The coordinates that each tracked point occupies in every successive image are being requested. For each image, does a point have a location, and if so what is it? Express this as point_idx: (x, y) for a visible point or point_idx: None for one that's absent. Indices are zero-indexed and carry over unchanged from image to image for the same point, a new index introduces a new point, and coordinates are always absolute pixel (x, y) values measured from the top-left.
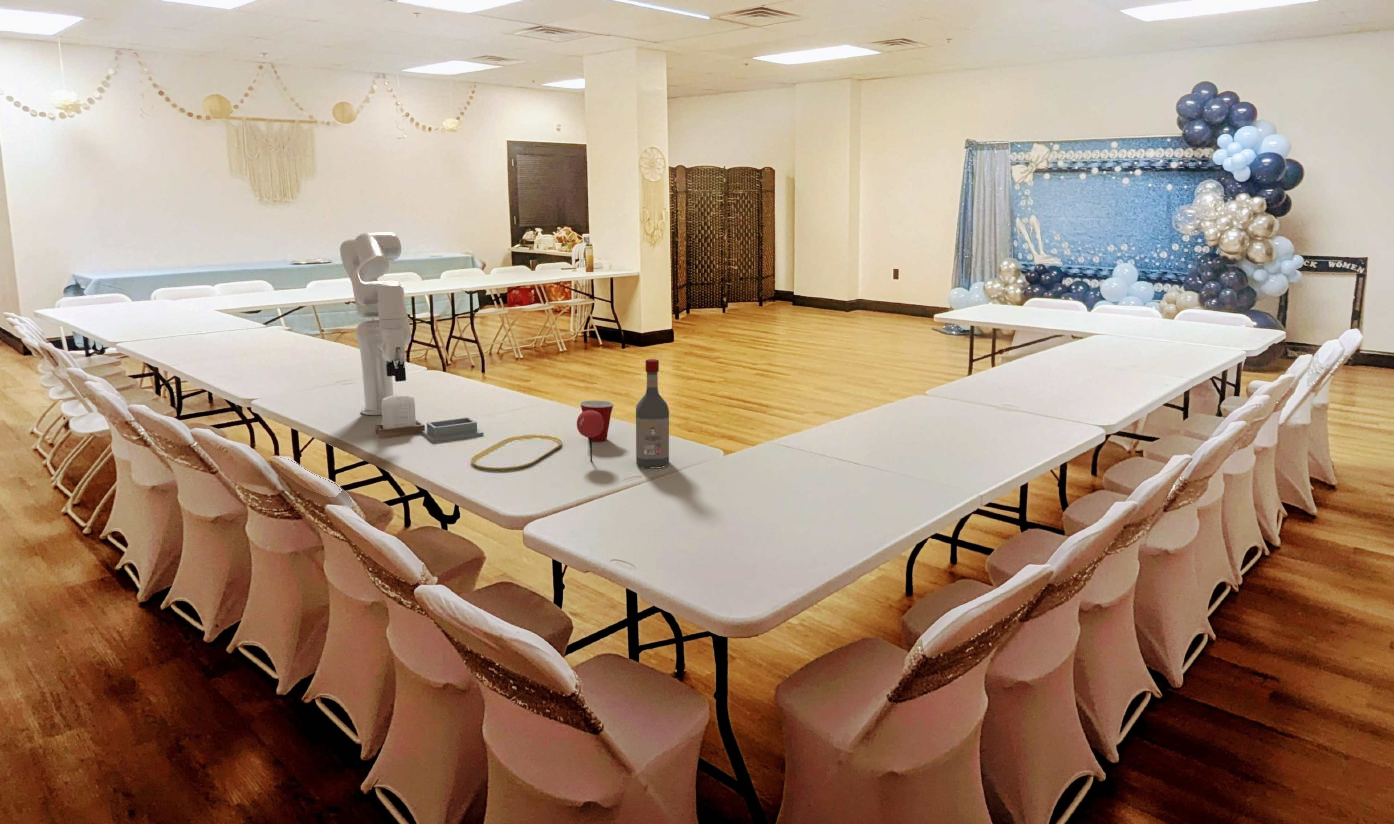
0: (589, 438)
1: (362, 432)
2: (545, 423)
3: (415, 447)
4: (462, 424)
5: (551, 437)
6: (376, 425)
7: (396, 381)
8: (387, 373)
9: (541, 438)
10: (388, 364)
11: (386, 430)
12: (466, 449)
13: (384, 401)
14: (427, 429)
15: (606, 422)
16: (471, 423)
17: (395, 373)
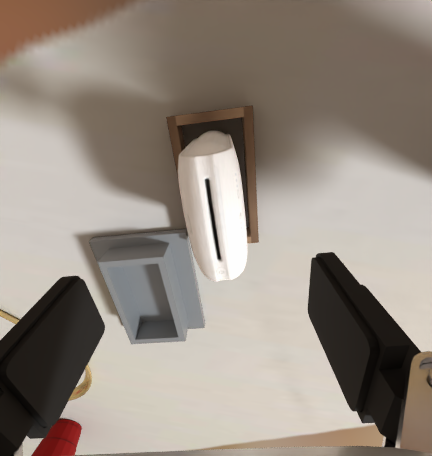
0: (57, 423)
1: (278, 60)
2: (181, 406)
3: (55, 194)
4: (121, 319)
5: (74, 395)
6: (247, 112)
7: (67, 279)
8: (327, 267)
9: (83, 384)
10: (370, 358)
11: (170, 138)
12: (27, 284)
13: (184, 158)
14: (164, 246)
15: None
16: (128, 334)
17: (18, 329)
